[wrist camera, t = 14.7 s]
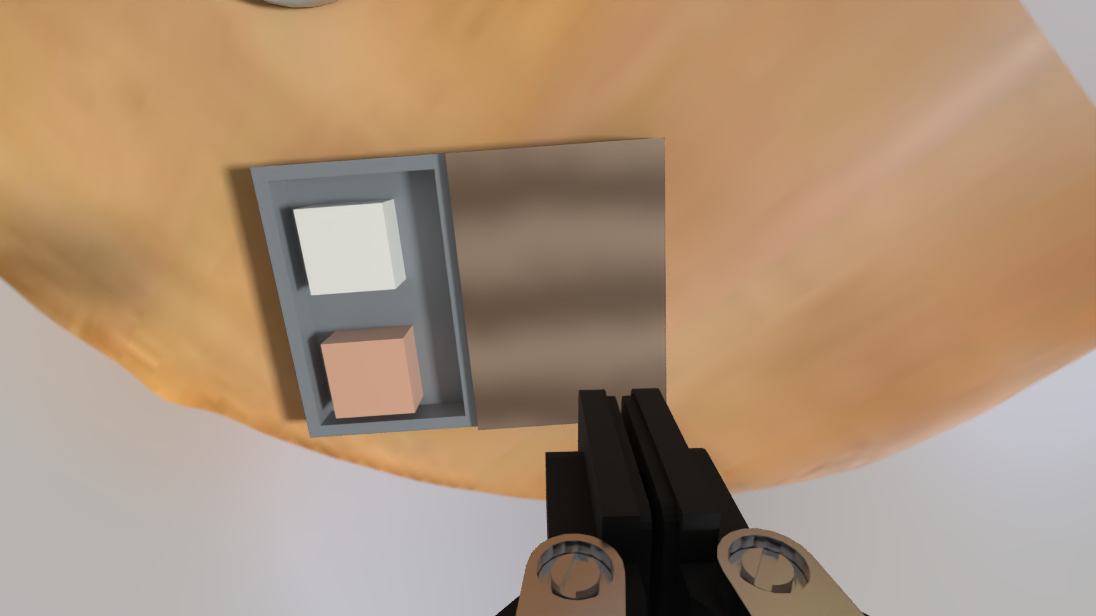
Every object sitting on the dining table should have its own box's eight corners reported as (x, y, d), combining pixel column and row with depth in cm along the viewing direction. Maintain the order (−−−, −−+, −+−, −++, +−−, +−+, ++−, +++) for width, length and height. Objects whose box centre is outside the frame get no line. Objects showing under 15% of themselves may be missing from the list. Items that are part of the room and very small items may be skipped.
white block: (381, 202, 30) (393, 198, 32) (293, 209, 30) (311, 204, 32) (395, 289, 31) (406, 279, 34) (311, 295, 31) (327, 284, 34)
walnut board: (453, 152, 32) (444, 153, 29) (653, 138, 32) (664, 137, 29) (483, 408, 37) (478, 430, 34) (656, 396, 37) (666, 417, 34)
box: (271, 165, 32) (249, 167, 30) (453, 152, 32) (446, 153, 30) (325, 418, 37) (310, 437, 35) (483, 408, 37) (479, 426, 35)
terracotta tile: (402, 338, 32) (412, 325, 35) (320, 344, 32) (335, 330, 35) (414, 412, 34) (423, 395, 36) (336, 418, 34) (349, 400, 36)
